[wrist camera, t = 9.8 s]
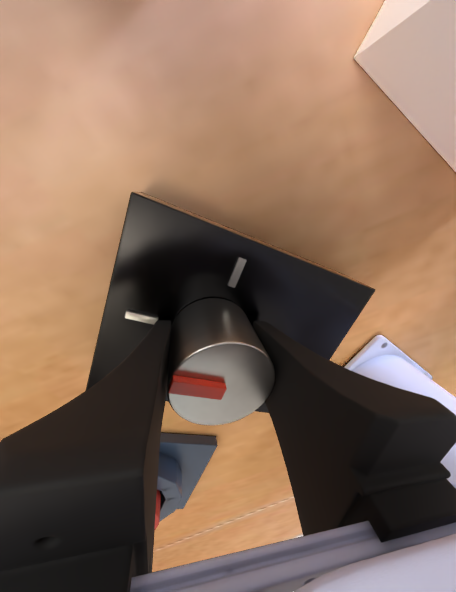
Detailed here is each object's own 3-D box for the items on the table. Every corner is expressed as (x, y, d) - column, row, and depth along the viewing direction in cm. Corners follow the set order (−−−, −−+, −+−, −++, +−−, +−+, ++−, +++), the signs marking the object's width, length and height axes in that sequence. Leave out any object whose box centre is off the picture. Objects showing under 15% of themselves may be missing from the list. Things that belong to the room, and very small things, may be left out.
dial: (261, 309, 11) (297, 360, 8) (231, 369, 13) (251, 436, 9) (185, 287, 10) (188, 336, 7) (160, 357, 11) (152, 429, 8)
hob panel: (346, 275, 15) (378, 291, 12) (278, 388, 18) (293, 418, 15) (141, 191, 10) (130, 191, 8) (100, 359, 14) (83, 394, 11)
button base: (216, 436, 19) (221, 468, 16) (183, 498, 22) (183, 533, 19) (66, 425, 15) (46, 465, 13) (50, 502, 18) (32, 545, 16)
